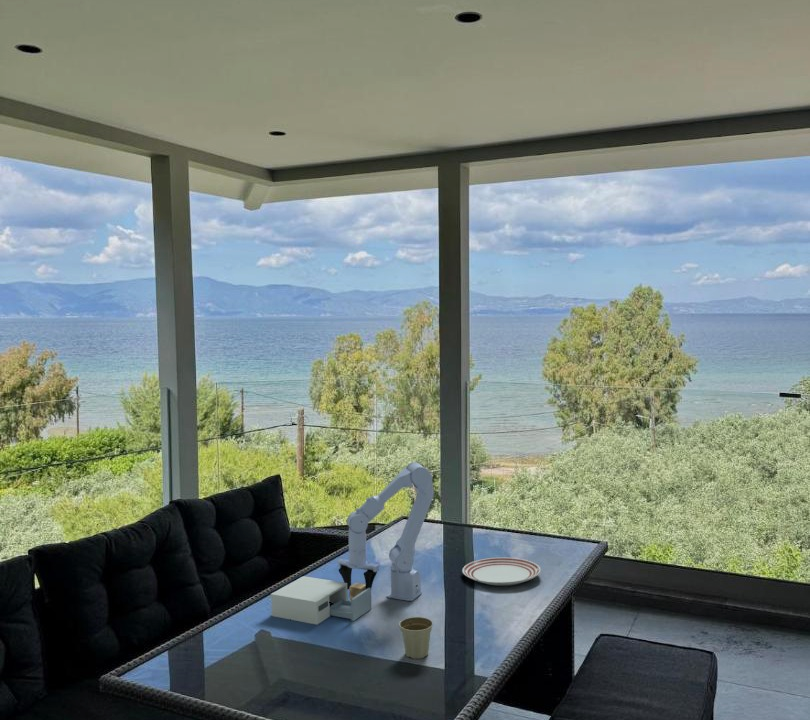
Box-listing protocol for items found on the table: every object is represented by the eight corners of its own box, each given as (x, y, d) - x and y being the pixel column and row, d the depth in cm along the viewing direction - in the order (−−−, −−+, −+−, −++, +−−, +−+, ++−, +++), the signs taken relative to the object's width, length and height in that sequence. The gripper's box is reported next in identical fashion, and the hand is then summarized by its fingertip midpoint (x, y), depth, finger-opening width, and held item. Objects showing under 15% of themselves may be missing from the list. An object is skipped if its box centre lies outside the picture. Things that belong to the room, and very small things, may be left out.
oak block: (368, 599, 254) (367, 584, 254) (361, 603, 250) (361, 588, 250) (356, 597, 256) (356, 582, 256) (349, 601, 252) (349, 586, 252)
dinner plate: (452, 586, 265) (451, 576, 264) (475, 561, 290) (475, 553, 290) (531, 595, 254) (531, 585, 254) (548, 569, 280) (547, 560, 279)
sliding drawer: (371, 608, 245) (370, 588, 245) (353, 620, 235) (353, 599, 235) (343, 603, 250) (342, 583, 249) (324, 615, 240) (324, 594, 240)
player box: (348, 604, 249) (347, 583, 249) (317, 624, 233) (317, 602, 233) (304, 596, 257) (303, 576, 257) (271, 615, 241) (270, 594, 241)
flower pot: (409, 664, 205) (408, 633, 205) (393, 651, 214) (392, 621, 213) (440, 657, 210) (439, 625, 209) (423, 644, 218) (422, 614, 217)
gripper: (332, 550, 252) (333, 590, 252) (370, 555, 245) (371, 597, 246) (343, 544, 258) (344, 584, 259) (381, 549, 251) (382, 590, 252)
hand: (358, 590), depth 253 cm, fingers open, 7 cm apart
